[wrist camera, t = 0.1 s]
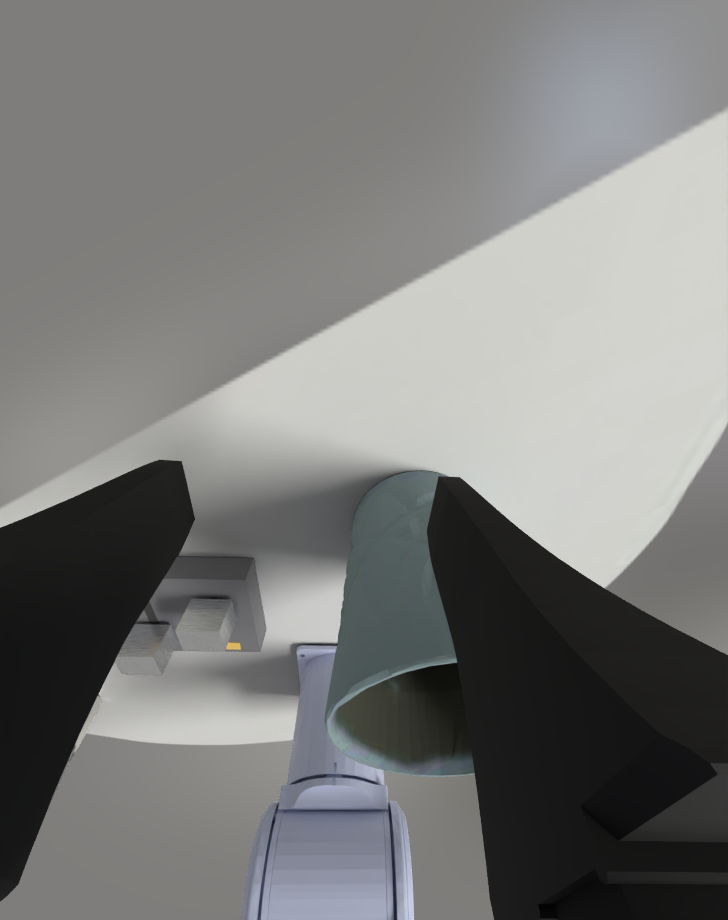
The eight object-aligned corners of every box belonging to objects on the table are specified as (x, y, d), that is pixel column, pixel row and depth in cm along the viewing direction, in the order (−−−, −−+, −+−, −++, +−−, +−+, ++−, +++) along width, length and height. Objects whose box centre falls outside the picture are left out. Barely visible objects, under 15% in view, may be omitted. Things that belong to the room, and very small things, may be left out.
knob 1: (177, 642, 26) (161, 674, 24) (141, 641, 26) (122, 674, 24) (170, 624, 25) (153, 657, 23) (132, 624, 25) (111, 656, 23)
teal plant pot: (508, 470, 21) (649, 667, 11) (465, 579, 26) (534, 786, 16) (347, 454, 21) (332, 648, 10) (335, 570, 26) (318, 778, 15)
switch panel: (266, 628, 29) (260, 652, 27) (89, 626, 29) (72, 649, 27) (253, 558, 25) (245, 580, 23) (46, 554, 24) (21, 576, 23)
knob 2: (236, 618, 25) (225, 651, 23) (198, 618, 25) (183, 650, 23) (231, 599, 24) (219, 631, 22) (191, 598, 24) (175, 630, 21)
